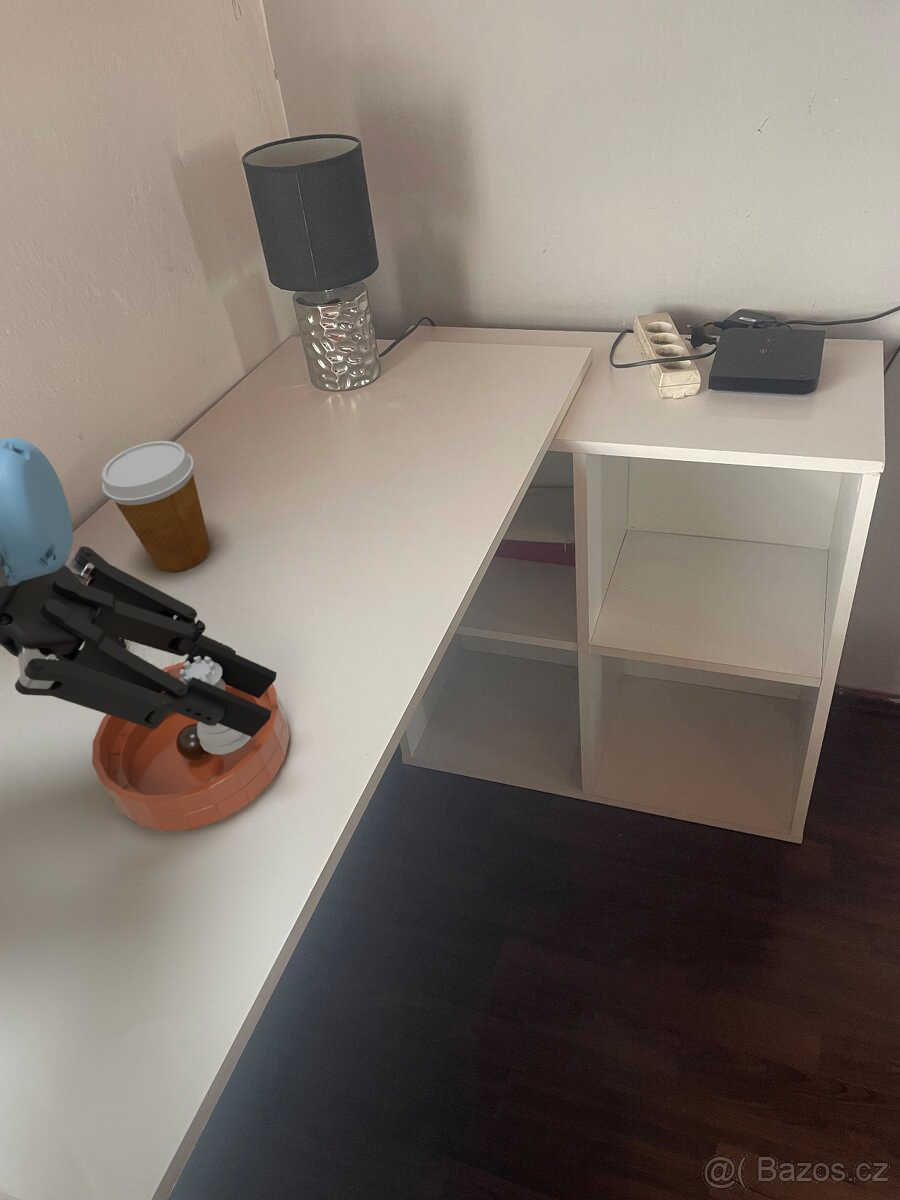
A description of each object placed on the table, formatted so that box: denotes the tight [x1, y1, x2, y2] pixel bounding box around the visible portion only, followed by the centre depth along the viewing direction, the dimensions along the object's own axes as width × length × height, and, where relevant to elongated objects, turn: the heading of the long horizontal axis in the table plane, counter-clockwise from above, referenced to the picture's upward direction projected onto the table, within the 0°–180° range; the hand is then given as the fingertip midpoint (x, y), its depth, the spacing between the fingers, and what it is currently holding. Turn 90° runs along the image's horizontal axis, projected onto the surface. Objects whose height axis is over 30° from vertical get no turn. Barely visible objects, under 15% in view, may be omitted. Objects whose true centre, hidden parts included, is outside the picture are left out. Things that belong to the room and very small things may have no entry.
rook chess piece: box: [180, 656, 251, 755], centre depth 67 cm, size 4×4×8 cm
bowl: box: [91, 661, 290, 832], centre depth 72 cm, size 15×15×4 cm
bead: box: [176, 724, 209, 760], centre depth 72 cm, size 3×3×3 cm
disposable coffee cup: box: [101, 440, 211, 573], centre depth 93 cm, size 10×10×12 cm
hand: (264, 704), depth 68 cm, fingers closed on rook chess piece, 3 cm apart
